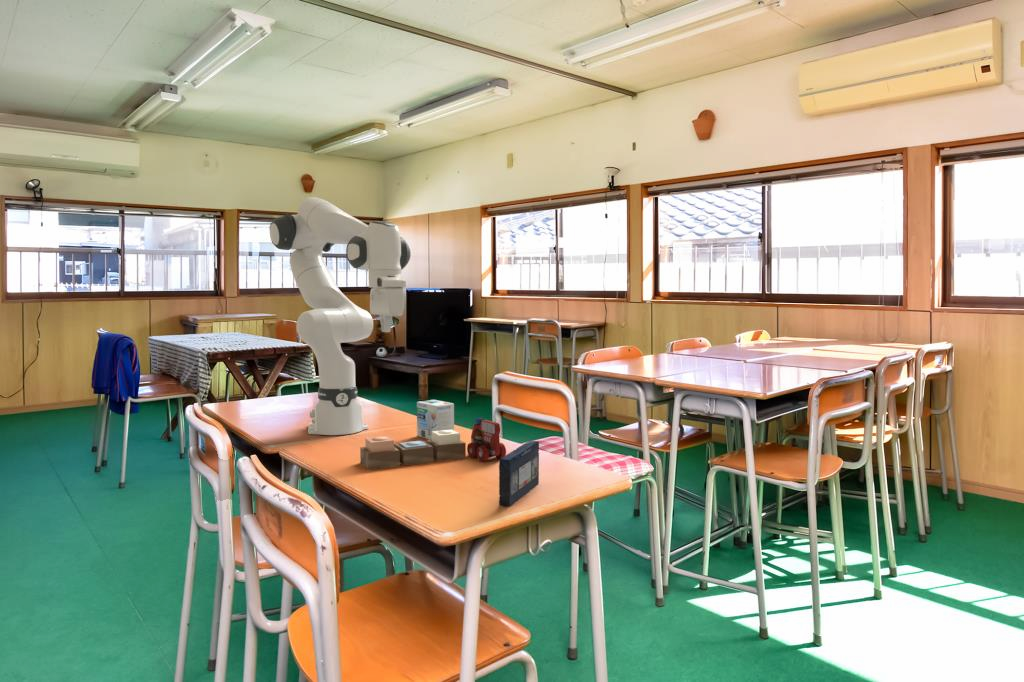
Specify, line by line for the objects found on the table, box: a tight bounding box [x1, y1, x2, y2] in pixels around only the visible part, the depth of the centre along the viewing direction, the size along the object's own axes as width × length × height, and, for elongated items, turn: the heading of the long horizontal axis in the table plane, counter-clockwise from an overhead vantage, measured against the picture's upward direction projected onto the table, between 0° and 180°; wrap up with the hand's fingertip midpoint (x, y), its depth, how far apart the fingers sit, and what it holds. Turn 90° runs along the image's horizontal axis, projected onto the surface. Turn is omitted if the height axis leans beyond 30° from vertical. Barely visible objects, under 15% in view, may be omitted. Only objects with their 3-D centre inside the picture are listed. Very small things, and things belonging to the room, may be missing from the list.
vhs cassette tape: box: [498, 440, 540, 508], centre depth 148 cm, size 18×3×10 cm, turn 157°
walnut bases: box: [359, 439, 467, 471], centre depth 178 cm, size 8×26×4 cm, turn 117°
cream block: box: [432, 429, 461, 445], centre depth 182 cm, size 6×6×4 cm
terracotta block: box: [364, 435, 395, 453], centre depth 174 cm, size 6×6×4 cm
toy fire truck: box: [466, 417, 507, 463], centre depth 181 cm, size 7×12×10 cm, turn 34°
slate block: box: [398, 440, 428, 449], centre depth 178 cm, size 6×6×4 cm
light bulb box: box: [416, 399, 455, 440], centre depth 206 cm, size 11×7×11 cm, turn 42°
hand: (386, 332), depth 186 cm, fingers closed
